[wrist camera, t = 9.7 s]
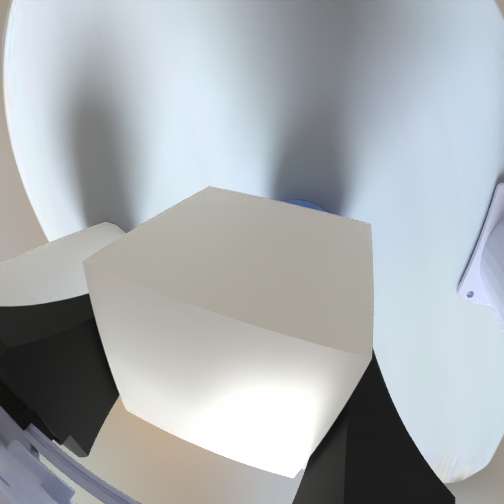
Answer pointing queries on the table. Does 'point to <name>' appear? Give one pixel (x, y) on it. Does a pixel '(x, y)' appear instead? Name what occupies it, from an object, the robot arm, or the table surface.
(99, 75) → the table surface
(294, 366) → the white cubic block
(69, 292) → the foam cup
